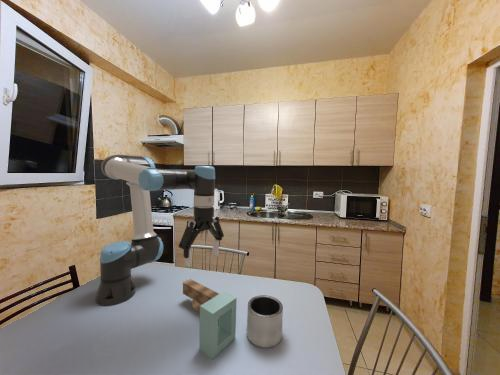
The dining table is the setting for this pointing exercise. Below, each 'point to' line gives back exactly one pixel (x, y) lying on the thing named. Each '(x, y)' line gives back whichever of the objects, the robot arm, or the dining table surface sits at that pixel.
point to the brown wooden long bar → (198, 291)
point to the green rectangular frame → (210, 333)
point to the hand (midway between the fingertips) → (202, 260)
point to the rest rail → (196, 305)
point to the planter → (264, 321)
